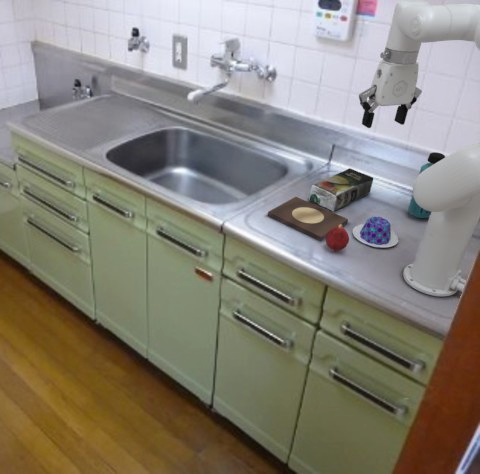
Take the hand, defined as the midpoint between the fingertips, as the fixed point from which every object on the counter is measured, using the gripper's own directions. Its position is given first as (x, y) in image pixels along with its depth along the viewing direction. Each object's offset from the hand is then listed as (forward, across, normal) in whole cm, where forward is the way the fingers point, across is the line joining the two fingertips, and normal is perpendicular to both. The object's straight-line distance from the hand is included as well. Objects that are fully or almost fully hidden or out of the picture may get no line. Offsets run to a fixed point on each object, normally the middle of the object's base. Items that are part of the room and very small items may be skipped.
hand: (382, 124), depth 136 cm
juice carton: (+30, +4, +16) cm, 34 cm away
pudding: (+30, +1, -7) cm, 31 cm away
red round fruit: (+30, -14, -10) cm, 35 cm away
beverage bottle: (+30, +20, -1) cm, 36 cm away
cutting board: (+30, -13, +6) cm, 33 cm away
